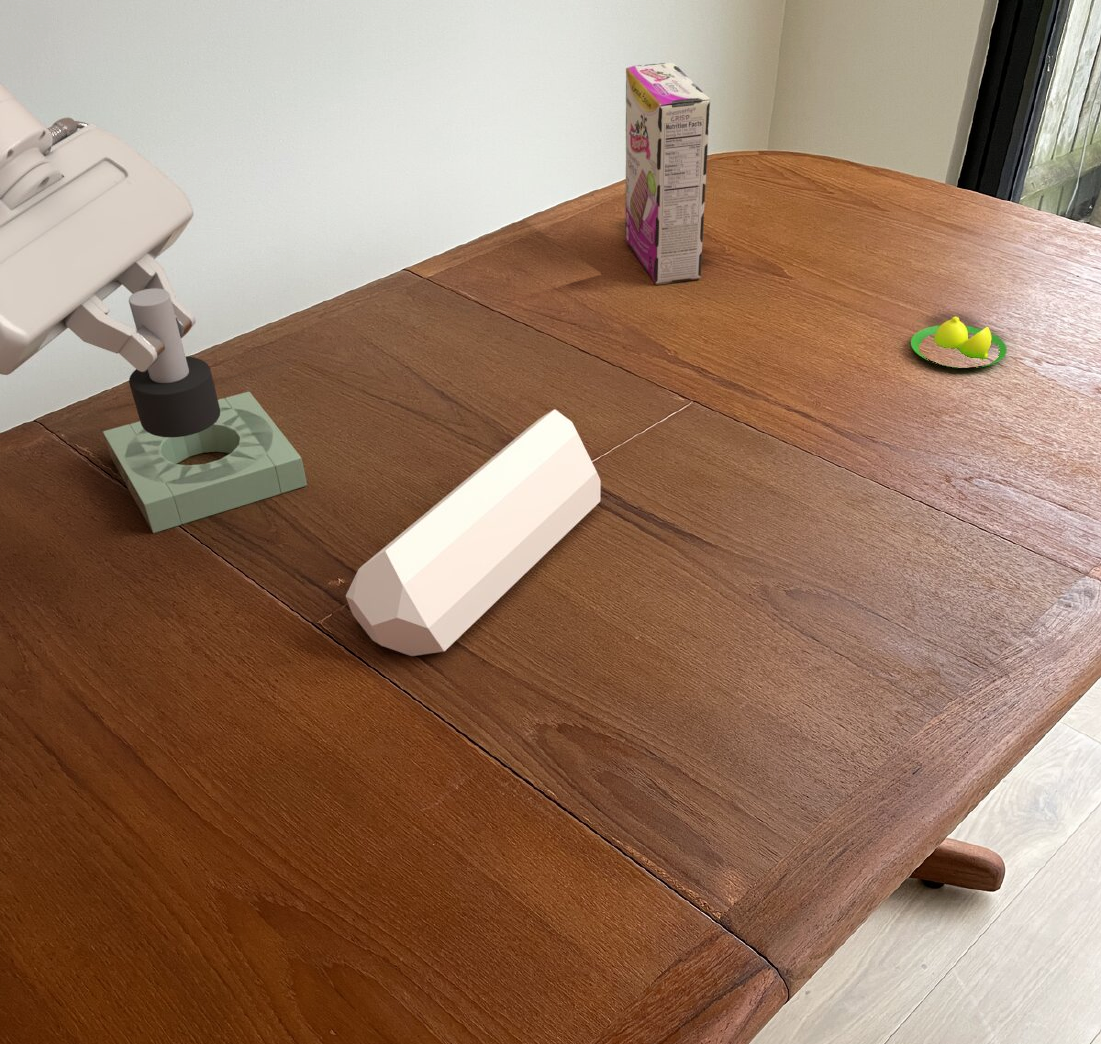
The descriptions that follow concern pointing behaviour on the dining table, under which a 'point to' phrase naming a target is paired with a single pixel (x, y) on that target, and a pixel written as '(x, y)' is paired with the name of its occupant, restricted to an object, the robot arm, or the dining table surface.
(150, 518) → the sink plate
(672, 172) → the candy bar box
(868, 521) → the dining table surface
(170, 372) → the stopper
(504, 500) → the crystal
